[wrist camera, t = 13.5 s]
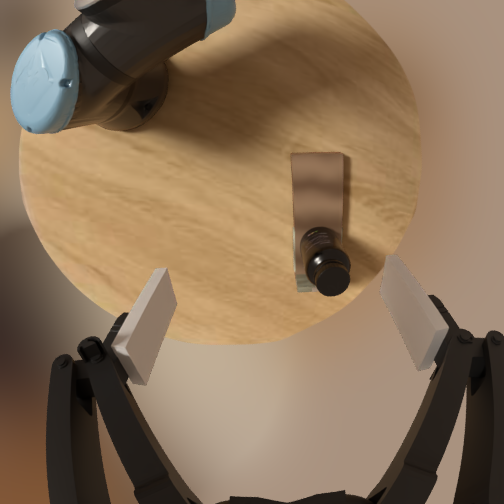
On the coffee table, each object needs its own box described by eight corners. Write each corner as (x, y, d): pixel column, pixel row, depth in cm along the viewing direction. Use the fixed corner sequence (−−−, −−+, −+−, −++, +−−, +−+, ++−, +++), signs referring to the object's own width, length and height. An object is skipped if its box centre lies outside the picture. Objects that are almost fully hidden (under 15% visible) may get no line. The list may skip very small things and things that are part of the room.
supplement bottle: (344, 250, 47) (364, 289, 36) (309, 267, 49) (320, 310, 38) (328, 217, 44) (347, 251, 34) (291, 236, 46) (299, 275, 35)
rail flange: (289, 153, 42) (293, 159, 36) (341, 152, 41) (352, 158, 35) (293, 273, 52) (296, 293, 46) (337, 270, 51) (345, 289, 46)
